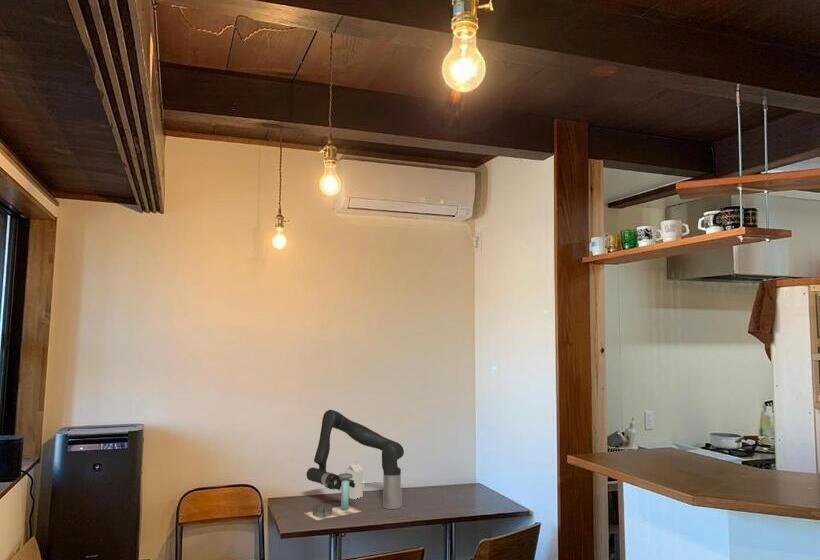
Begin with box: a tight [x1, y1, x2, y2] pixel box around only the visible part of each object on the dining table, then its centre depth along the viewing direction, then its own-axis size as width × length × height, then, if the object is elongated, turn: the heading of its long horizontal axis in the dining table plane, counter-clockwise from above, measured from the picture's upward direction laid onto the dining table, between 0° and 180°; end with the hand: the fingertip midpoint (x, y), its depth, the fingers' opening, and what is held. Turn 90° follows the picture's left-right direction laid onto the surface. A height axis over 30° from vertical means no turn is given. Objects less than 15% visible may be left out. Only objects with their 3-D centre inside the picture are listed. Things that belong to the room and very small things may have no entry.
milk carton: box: [344, 461, 364, 500], centre depth 341 cm, size 7×7×19 cm
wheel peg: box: [338, 472, 352, 510], centre depth 311 cm, size 7×7×17 cm
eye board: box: [303, 503, 363, 521], centre depth 306 cm, size 26×14×6 cm, turn 128°
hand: (347, 486), depth 310 cm, fingers open, 8 cm apart
